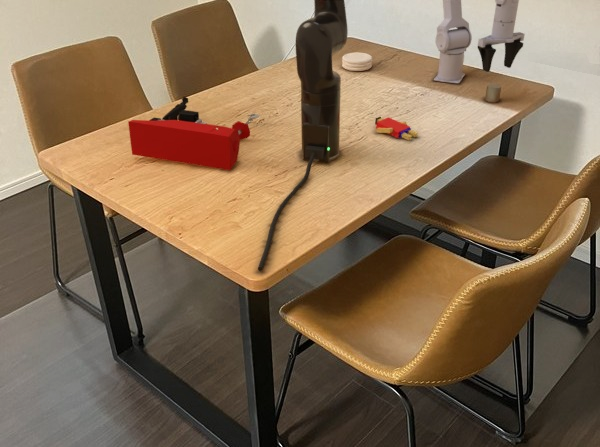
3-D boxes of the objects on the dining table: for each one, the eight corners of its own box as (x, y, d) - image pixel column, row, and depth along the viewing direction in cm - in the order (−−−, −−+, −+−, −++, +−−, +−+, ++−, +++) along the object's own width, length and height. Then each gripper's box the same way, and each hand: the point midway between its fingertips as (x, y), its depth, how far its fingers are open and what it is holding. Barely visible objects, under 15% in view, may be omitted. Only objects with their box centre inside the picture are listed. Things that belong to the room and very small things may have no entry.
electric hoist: (177, 78, 171) (124, 120, 146) (270, 90, 165) (231, 136, 141) (180, 112, 176) (129, 158, 152) (269, 125, 171) (232, 175, 146)
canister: (500, 99, 182) (502, 84, 180) (497, 103, 179) (499, 88, 177) (486, 96, 184) (488, 82, 182) (483, 101, 181) (485, 86, 179)
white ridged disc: (357, 73, 202) (357, 63, 200) (335, 66, 209) (336, 56, 207) (378, 66, 208) (378, 56, 206) (356, 60, 214) (357, 50, 212)
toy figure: (421, 128, 160) (386, 113, 167) (405, 136, 156) (369, 120, 163) (420, 136, 162) (385, 121, 169) (404, 144, 158) (368, 128, 165)
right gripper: (492, 26, 164) (485, 76, 171) (535, 20, 169) (526, 69, 176) (475, 20, 169) (469, 69, 176) (517, 14, 174) (509, 62, 182)
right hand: (496, 68), depth 177 cm, fingers open, 7 cm apart
